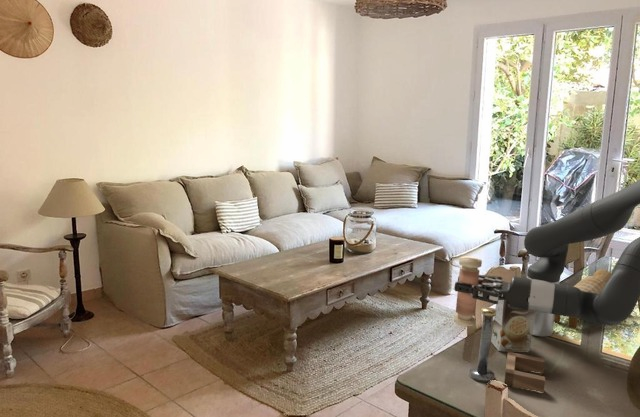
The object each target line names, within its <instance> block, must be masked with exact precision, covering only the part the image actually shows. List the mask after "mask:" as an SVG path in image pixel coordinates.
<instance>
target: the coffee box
mask: <svg viewBox="0 0 640 417" xmlns="http://www.w3.org/2000/svg"><path fill="white" fill-rule="evenodd" d="M508 302H509V301H508V300H498V304H495V308H494V309H495V310H496V316H494V317H493V324H492V333H491V342H490V343H492V345H493V346H494V348H496V350H497V351H498V352H507V353H508V352H512V353H516V351H521V352H520V353H526V352H525V351H530V352H531V346H532V339H533V338H532V337H533V335H532V332H533V325H534V318H535V312H531V311H525V310H519V309H514V308H509V306H508Z"/></svg>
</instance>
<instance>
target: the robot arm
mask: <svg viewBox="0 0 640 417" xmlns="http://www.w3.org/2000/svg"><path fill="white" fill-rule="evenodd" d="M639 205H640V179H638V180H636V181H635V182H633V183H631V184H629V185H628V186H625V187H624V188H621V189H620V190H618V191H616V192H614V193H612V194H609V195H607V196H605V197H603V198H601V199H597V200H595V201H594V202H591V203H589V204H587V205H584V206H582V207H581V208H579V209H577V210H575V211H572V212H570V213H568V214H567V215H564V216H563V217H560V218H559V219H556V220H554V221H552V222H548V223H544V224H543V225H538V226H535V227H533V228H531V229H530V230H529V231H527V233H526V235H525V237H524V241H523V242H524V244H523V245H524V249H525V250H526V252H527V253H528V254H530V255H531V256H532V257H535V258H538V259H537V260H536V261H535V262H534V263H532V264H531V265H529V266H528V268H527V272H526V277H524V276H523V277H522V276H516V275H515V276H514V275H513V276H511V278H510V282H506V281H503V277H502V276H499V275H498V276H497V275H496V276H495V275H483V274H479V281H478V285H477V284H472V285H471V284H468V283H462V282H459V276H458V277H457V281H456V282H455V283H454V289H453V290H454V292H457V293H458V292H463V293H469V294H470V293H471V295H472V298H474V299H477V300H478V301H483V302H486V303H491V304H494V305H496V304H498V300H508V301H509V302H508V306H509V308H514V309H519V310H525V311H531V312H535V318H534V325H533V332H532V336H537V337H550V336H552V335H553V332H554V326H555V321H554V319H555V315H560V317H567V318H569V317H575V318H578V320H583V321H586V322H589V323H593V324H598V325H604V326H617V325H620V324H622V323H623V322H624V321H626V320H627V319H629V318H630V316H631V315H632V313H633V312H634V310H635V308H636V306H637V303H638V302H639V299H640V236H639V237H637V238H635V239H634V240H632V241H631V242H630V243H628V244H627V246H626V247H625V248H624V249H623V251H622V253H621V255H620V257H618V260H617V261H616V263H615V265H614V267H613V269H612V271H611V273H612V274H611V277H610V279H609V280H608V282H607V283H606V285H605V287H604V288H603V290H602V291H601V293H600V294H597V293H591V292H585V291H581V290H580V289H579V288H576V287H573V285H568V284H561V283H560V282H561V277H562V276H561V275H562V274H563V273H564V271H565V267H566V262H567V258H568V251H569V245H570V244H577V243H584V242H589V241H592V240H596V239H600V238H603V237H606V236H610V235H612V234H615V233H617V232H619V231H621V230H622V229H623V228H625V227H626V225H627V223H628V222H629V221H630V218H631V216H632V214H633V212H634V210H635V208H636V207H637V206H639Z"/></svg>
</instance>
